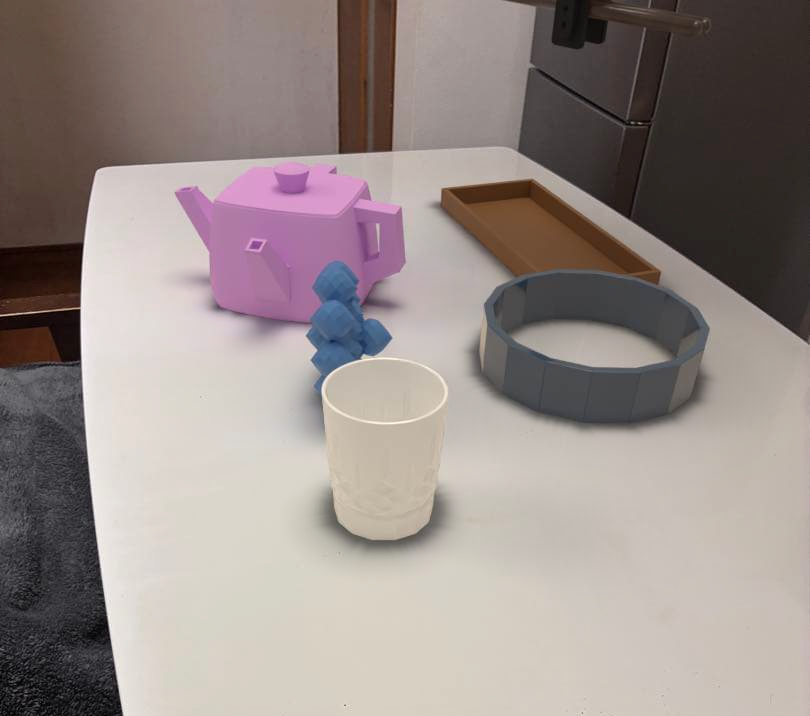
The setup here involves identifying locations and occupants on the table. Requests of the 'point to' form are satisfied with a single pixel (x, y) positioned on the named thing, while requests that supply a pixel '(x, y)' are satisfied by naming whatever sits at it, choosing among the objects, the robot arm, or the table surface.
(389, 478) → the white cup
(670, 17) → the chopsticks
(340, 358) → the grapes
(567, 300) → the ring
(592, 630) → the table surface
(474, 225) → the tray
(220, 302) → the teakettle
